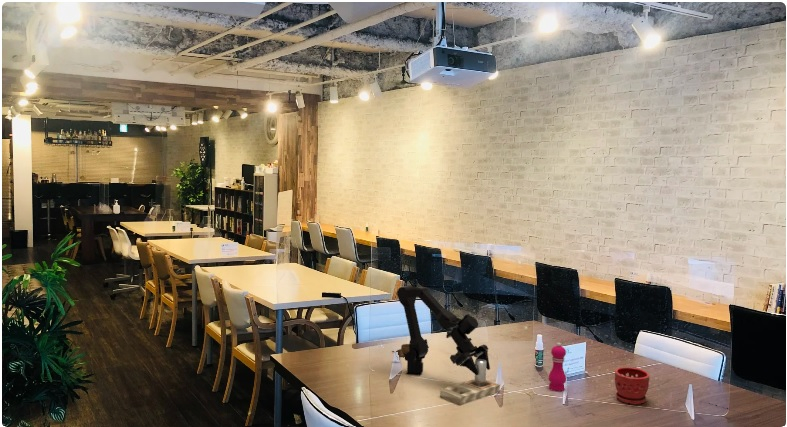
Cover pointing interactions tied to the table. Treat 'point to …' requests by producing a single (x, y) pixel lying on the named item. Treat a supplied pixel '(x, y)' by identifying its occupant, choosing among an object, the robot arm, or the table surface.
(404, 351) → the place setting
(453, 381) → the table surface
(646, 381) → the plant pot
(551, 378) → the pepper mill
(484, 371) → the silver metal cylinder
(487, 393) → the socket board
